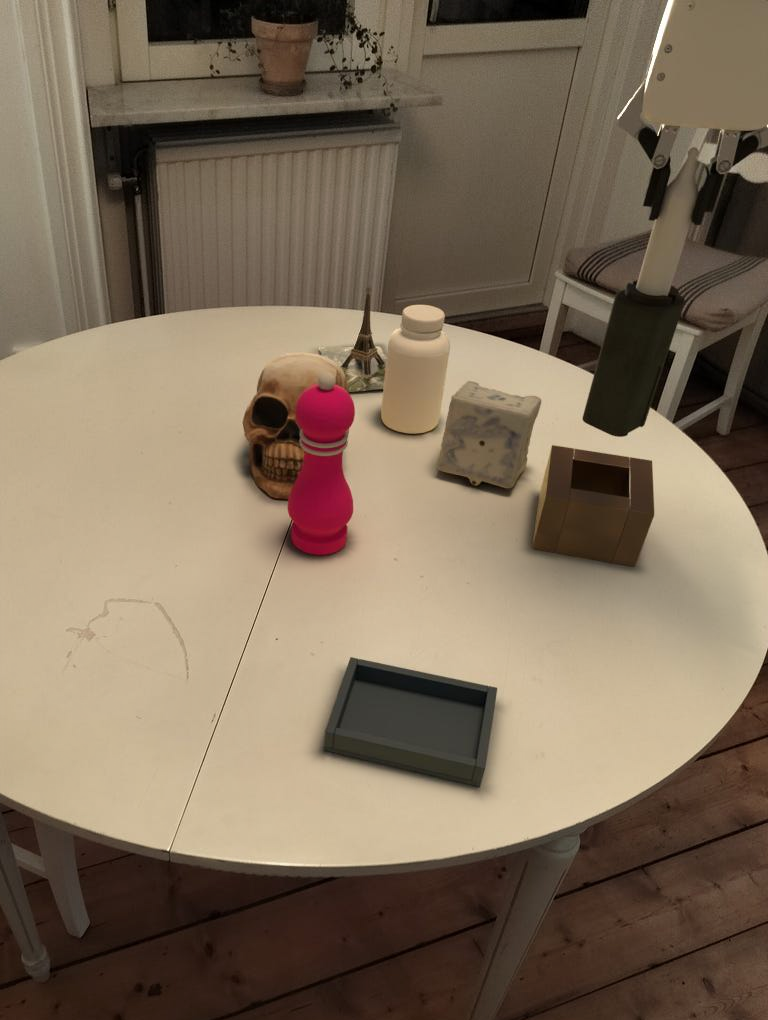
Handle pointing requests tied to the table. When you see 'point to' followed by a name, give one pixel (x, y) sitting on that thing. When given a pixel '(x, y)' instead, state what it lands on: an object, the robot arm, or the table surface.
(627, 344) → the candle
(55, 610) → the table surface
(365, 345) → the eiffel tower figurine
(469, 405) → the incense holder
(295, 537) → the pepper mill
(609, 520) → the holder
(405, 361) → the pill bottle
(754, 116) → the robot arm
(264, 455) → the skull
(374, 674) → the tray
